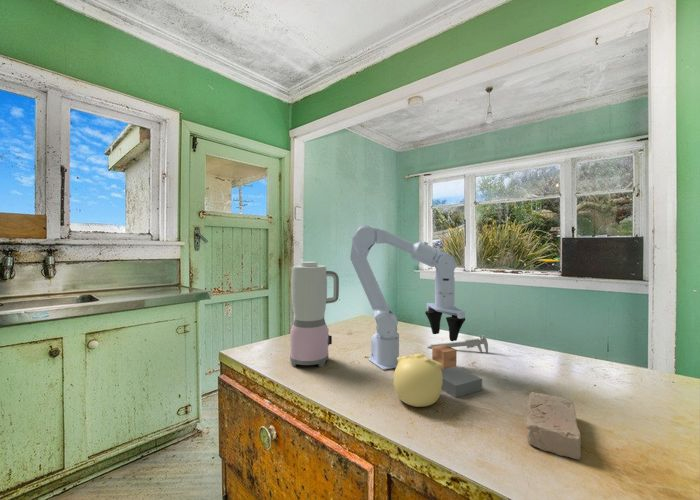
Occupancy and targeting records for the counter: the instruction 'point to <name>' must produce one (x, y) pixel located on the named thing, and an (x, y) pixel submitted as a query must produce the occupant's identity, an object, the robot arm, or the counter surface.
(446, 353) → the block
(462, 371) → the base
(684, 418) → the counter surface
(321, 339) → the blender
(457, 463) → the counter surface
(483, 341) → the caliper
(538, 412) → the brick
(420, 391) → the sculpture
